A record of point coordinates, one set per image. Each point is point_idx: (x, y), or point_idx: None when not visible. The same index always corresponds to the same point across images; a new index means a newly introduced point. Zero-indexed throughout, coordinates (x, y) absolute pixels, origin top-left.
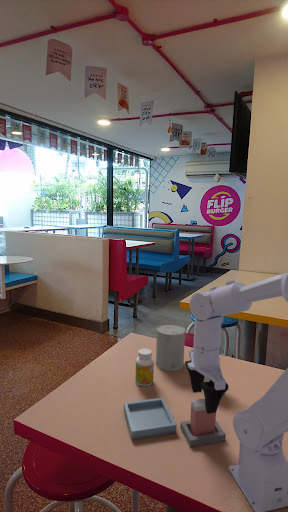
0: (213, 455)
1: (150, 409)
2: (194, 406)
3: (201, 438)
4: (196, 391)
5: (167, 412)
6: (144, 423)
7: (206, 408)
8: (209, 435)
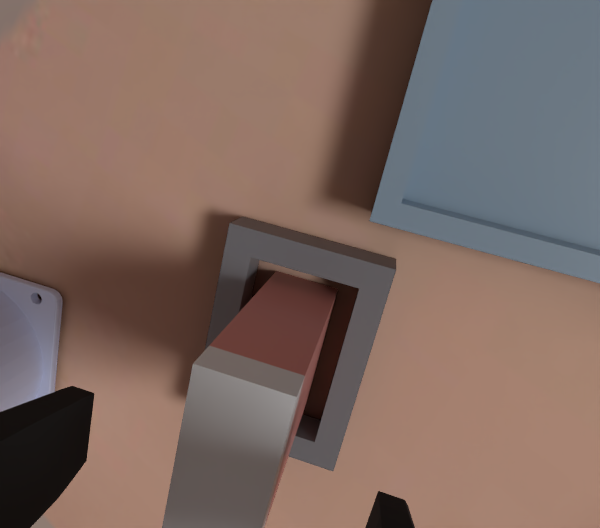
0: (151, 287)
1: None
2: (224, 366)
3: (218, 292)
4: (369, 525)
5: (522, 237)
6: (556, 31)
7: (31, 400)
8: None
